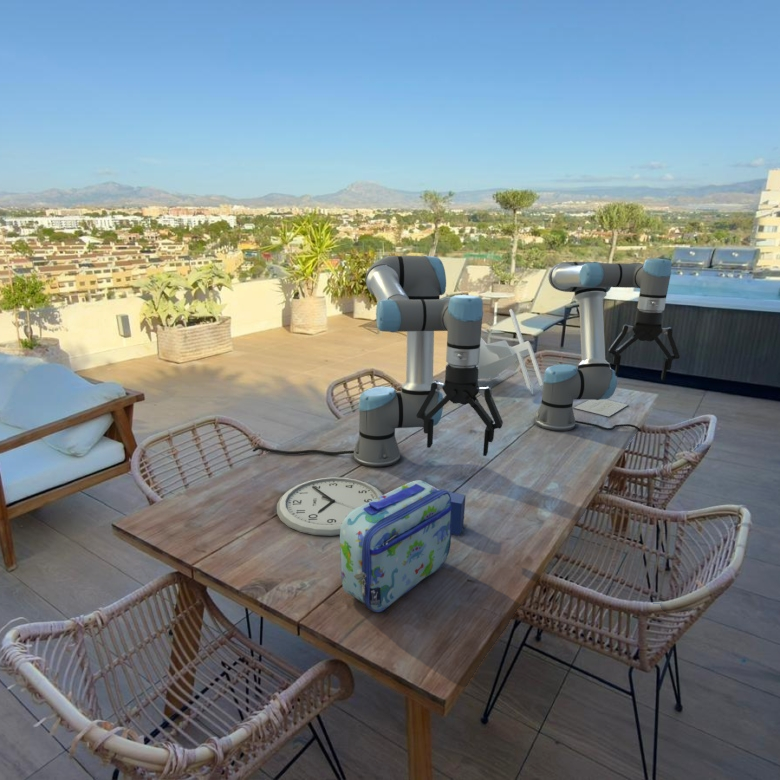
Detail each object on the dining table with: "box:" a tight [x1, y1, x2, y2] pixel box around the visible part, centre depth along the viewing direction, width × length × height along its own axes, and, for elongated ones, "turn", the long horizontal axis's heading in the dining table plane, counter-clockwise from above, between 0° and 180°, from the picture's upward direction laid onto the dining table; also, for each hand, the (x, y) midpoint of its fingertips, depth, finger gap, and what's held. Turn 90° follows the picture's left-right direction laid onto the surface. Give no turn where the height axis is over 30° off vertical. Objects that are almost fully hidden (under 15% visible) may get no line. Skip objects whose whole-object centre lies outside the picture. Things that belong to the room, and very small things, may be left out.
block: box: [448, 491, 466, 537], centre depth 131 cm, size 5×5×9 cm
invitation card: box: [573, 399, 629, 418], centre depth 226 cm, size 21×1×15 cm
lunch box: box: [339, 479, 452, 613], centre depth 109 cm, size 26×11×21 cm, turn 134°
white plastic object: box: [477, 308, 544, 395], centre depth 252 cm, size 37×45×31 cm
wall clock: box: [276, 476, 385, 537], centre depth 142 cm, size 30×2×30 cm
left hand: (457, 449), depth 126 cm, fingers open, 13 cm apart
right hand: (639, 377), depth 167 cm, fingers open, 13 cm apart
